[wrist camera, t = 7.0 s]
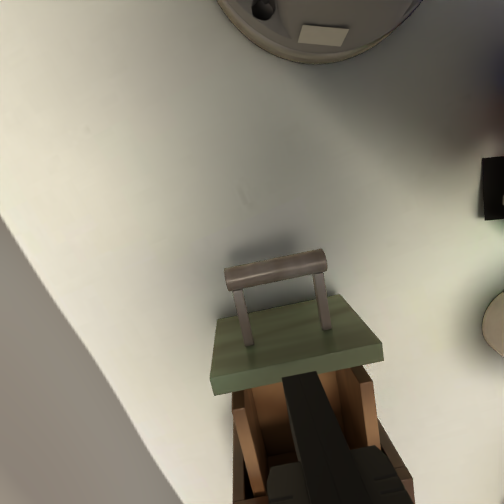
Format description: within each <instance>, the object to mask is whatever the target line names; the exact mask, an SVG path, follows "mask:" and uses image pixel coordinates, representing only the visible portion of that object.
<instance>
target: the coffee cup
mask: <svg viewBox="0 0 504 504" xmlns="http://www.w3.org/2000/svg"><path fill="white" fill-rule="evenodd" d="M482 331H483V335H484V338H485V340H486V342H487V343H488V344H489V345H490V346H491V347H492V348H493V349H494V350H495V351H497V352H498V353H499V354H500V355H501V356H503V357H504V292H502V293H501V294H499V295H498V296H497V297H496V298H495V299H494V300H493V301H492V302H491V304H490V305H489V307H488V308H487V310H486V312H485V315H484V318H483V323H482Z"/></svg>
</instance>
